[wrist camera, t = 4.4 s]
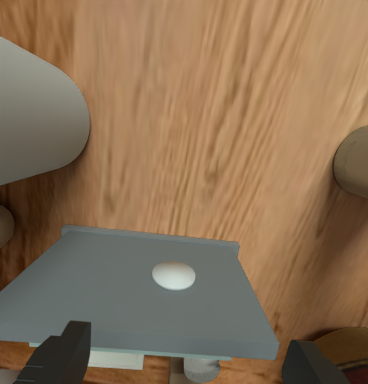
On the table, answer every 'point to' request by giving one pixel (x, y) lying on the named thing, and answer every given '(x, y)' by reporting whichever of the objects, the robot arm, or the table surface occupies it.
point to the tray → (116, 360)
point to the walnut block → (178, 372)
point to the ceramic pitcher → (347, 352)
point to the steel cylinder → (201, 369)
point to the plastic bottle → (6, 225)
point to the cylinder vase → (37, 115)
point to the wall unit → (140, 296)
